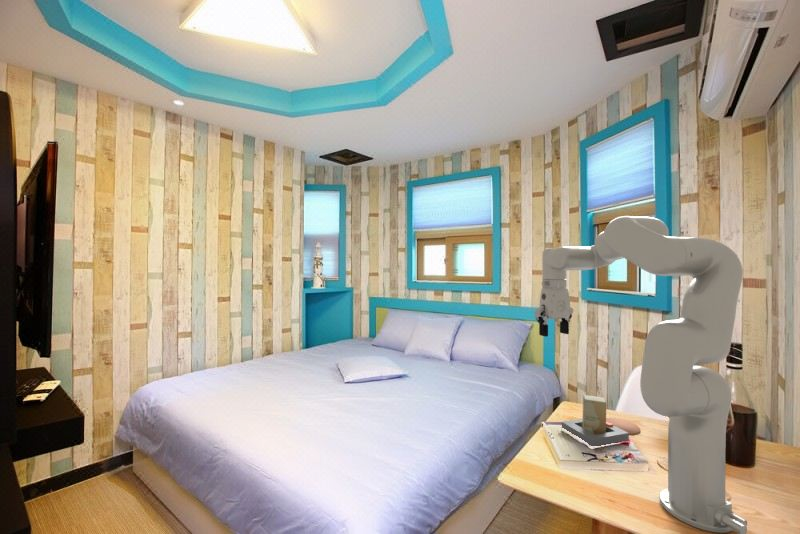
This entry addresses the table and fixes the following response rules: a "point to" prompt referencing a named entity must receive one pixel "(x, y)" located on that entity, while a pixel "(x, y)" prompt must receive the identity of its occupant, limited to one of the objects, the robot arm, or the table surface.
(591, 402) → the skincare box
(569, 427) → the gray square frame
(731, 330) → the robot arm
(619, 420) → the coaster
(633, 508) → the table surface
